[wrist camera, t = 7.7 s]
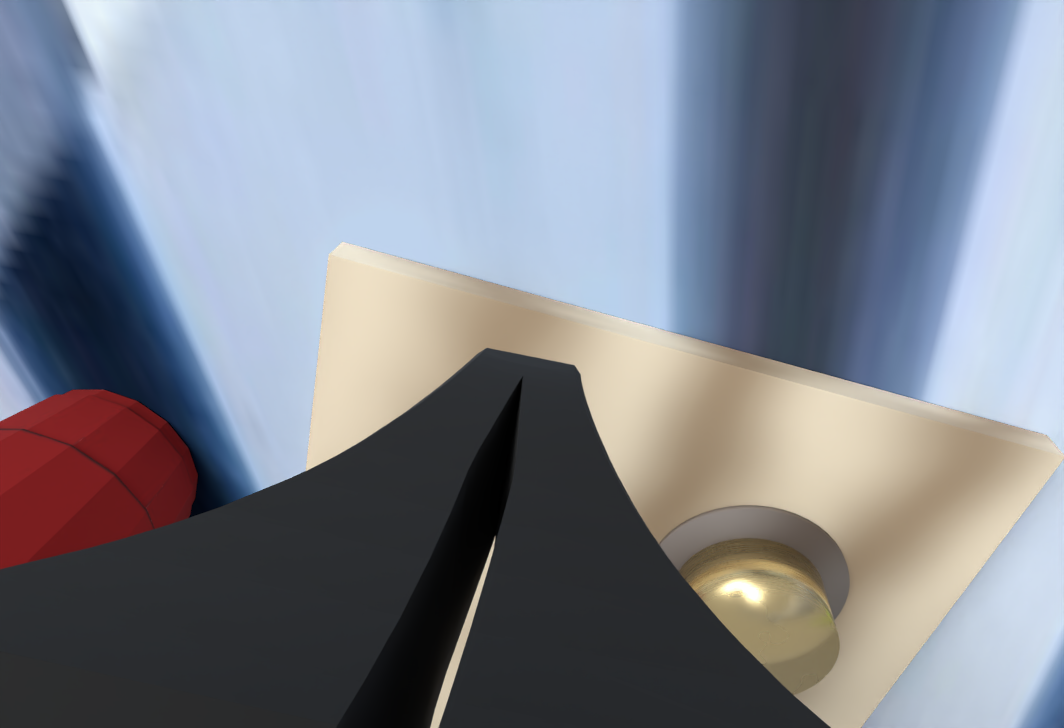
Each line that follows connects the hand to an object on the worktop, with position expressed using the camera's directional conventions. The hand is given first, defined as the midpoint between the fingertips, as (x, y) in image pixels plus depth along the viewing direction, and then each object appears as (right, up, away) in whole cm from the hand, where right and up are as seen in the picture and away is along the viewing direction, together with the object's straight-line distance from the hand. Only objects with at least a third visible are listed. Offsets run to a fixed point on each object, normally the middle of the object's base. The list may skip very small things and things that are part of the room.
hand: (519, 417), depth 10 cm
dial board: (+2, -7, +15) cm, 17 cm away
